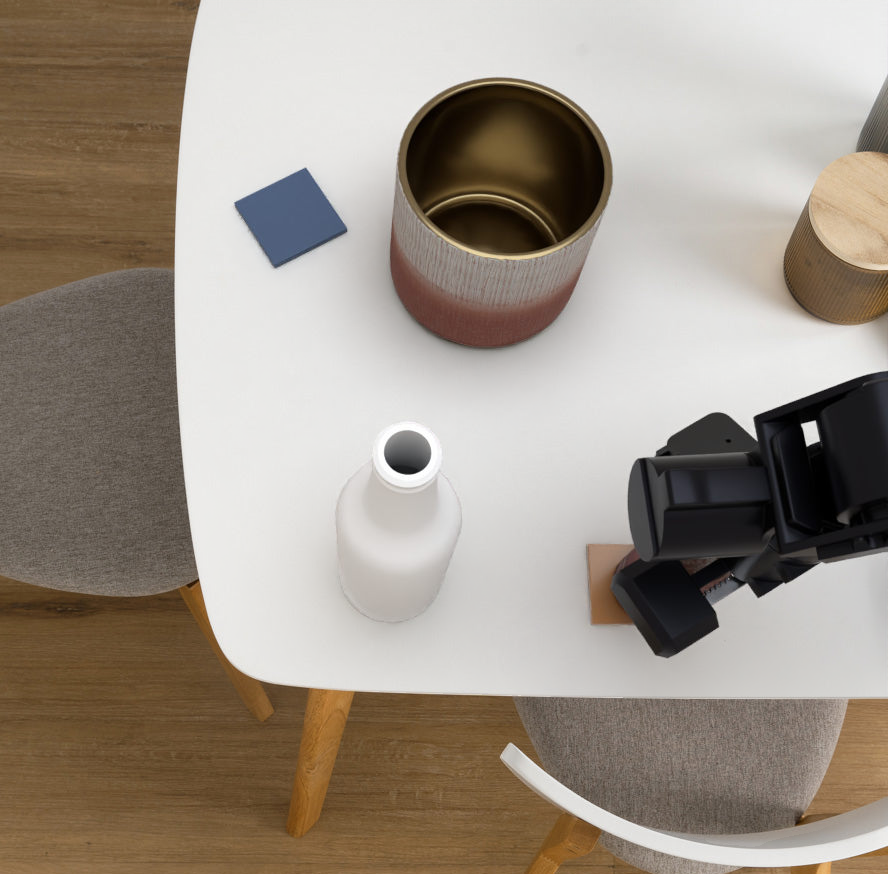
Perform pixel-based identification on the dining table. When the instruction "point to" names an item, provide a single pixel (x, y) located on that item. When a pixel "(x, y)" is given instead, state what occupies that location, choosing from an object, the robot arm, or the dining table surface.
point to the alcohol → (397, 525)
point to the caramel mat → (605, 583)
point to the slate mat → (290, 217)
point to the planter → (496, 209)
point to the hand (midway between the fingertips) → (709, 575)
